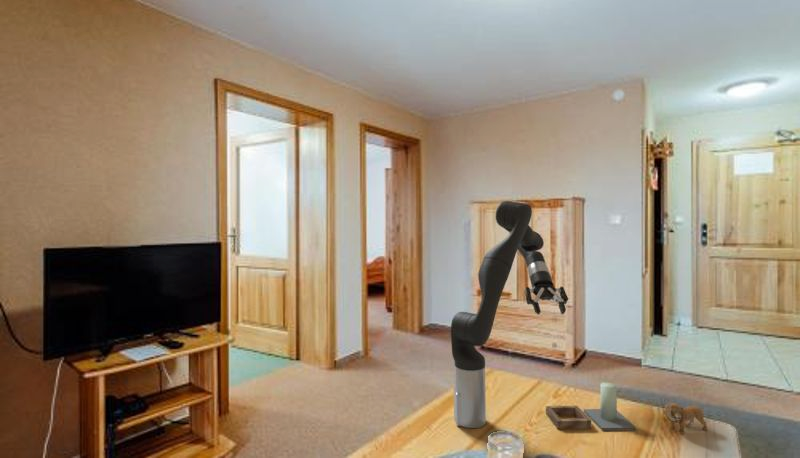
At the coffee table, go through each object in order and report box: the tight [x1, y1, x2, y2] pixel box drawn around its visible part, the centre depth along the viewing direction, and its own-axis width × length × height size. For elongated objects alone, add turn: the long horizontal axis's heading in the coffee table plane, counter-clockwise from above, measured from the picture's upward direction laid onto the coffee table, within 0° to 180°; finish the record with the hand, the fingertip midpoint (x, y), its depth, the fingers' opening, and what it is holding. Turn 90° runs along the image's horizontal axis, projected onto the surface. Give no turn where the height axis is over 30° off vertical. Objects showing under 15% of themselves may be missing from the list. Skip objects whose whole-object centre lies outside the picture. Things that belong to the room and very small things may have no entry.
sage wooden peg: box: [599, 381, 618, 421], centre depth 126 cm, size 4×4×10 cm
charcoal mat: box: [582, 408, 637, 432], centre depth 126 cm, size 10×12×1 cm
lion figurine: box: [664, 401, 708, 436], centre depth 120 cm, size 15×5×9 cm, turn 112°
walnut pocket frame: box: [545, 405, 592, 431], centre depth 126 cm, size 10×10×2 cm
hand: (551, 313), depth 145 cm, fingers open, 8 cm apart
